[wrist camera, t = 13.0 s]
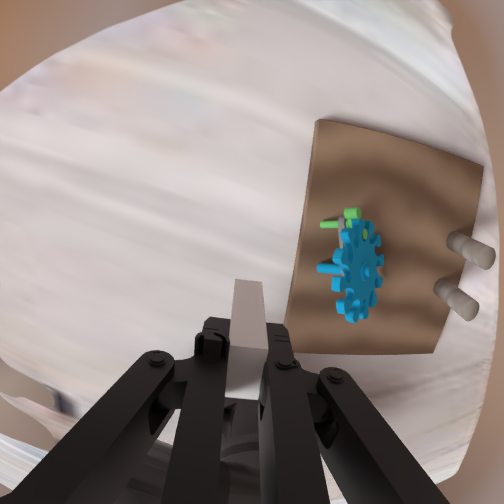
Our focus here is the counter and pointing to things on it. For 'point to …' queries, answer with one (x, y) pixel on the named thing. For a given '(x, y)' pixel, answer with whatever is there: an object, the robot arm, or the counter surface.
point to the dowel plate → (385, 241)
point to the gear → (354, 264)
